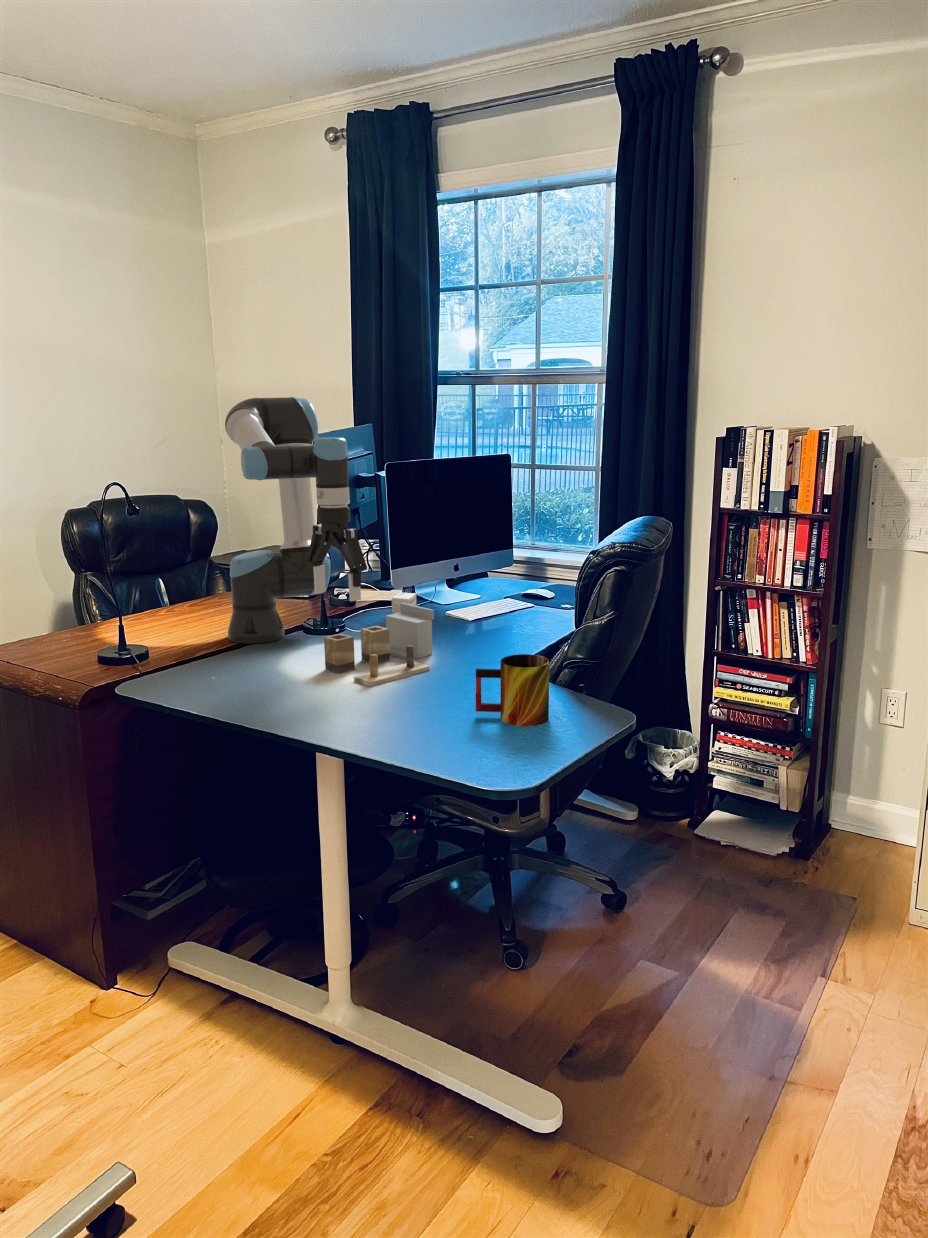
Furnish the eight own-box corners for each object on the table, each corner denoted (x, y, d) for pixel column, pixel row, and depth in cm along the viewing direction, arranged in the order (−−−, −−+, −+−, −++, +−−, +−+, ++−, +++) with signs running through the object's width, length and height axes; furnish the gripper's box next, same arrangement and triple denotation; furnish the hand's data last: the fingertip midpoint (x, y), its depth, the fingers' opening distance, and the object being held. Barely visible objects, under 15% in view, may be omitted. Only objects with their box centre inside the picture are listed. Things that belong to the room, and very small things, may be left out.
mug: (474, 715, 182) (473, 658, 179) (537, 708, 186) (538, 652, 183) (490, 731, 173) (490, 671, 170) (556, 723, 177) (557, 664, 174)
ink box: (410, 641, 240) (409, 598, 237) (392, 641, 241) (390, 598, 238) (418, 634, 248) (417, 592, 245) (400, 633, 249) (399, 591, 246)
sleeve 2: (361, 660, 223) (360, 629, 221) (377, 656, 226) (376, 625, 224) (374, 664, 219) (373, 632, 217) (390, 660, 222) (389, 628, 221)
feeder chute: (377, 651, 230) (376, 608, 228) (403, 645, 236) (402, 602, 234) (408, 660, 222) (407, 615, 219) (434, 653, 228) (433, 609, 225)
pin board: (354, 681, 206) (353, 655, 204) (413, 665, 218) (412, 641, 217) (370, 686, 201) (369, 660, 200) (429, 670, 214) (429, 645, 212)
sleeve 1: (325, 669, 215) (323, 637, 213) (342, 665, 218) (340, 633, 217) (338, 673, 212) (336, 640, 210) (354, 669, 215) (353, 637, 213)
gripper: (288, 503, 212) (293, 591, 217) (353, 510, 195) (357, 606, 200) (314, 501, 217) (319, 587, 222) (380, 508, 200) (383, 601, 205)
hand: (337, 596), depth 211 cm, fingers open, 13 cm apart
